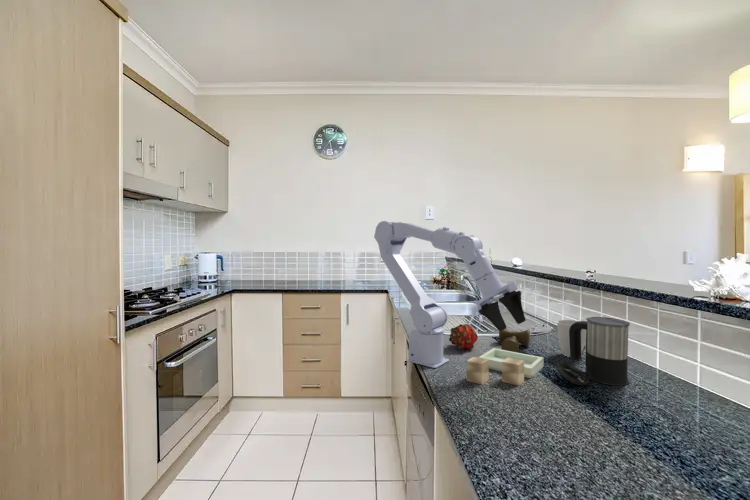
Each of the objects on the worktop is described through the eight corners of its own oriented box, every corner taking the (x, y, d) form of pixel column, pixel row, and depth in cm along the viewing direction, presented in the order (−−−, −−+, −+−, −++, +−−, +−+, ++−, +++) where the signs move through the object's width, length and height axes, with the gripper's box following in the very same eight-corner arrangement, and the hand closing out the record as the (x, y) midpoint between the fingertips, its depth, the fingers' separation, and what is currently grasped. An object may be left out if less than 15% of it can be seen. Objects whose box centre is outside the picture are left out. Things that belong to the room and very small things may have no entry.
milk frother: (632, 378, 89) (633, 320, 89) (621, 399, 77) (622, 331, 77) (569, 365, 99) (570, 312, 98) (551, 382, 87) (551, 321, 87)
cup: (592, 360, 102) (592, 326, 102) (561, 359, 104) (561, 325, 104) (581, 352, 110) (582, 320, 110) (553, 350, 112) (553, 319, 111)
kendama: (492, 355, 109) (501, 338, 127) (526, 361, 105) (531, 342, 123) (493, 336, 109) (502, 321, 127) (527, 341, 105) (531, 325, 122)
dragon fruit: (454, 358, 110) (466, 353, 120) (476, 344, 107) (487, 341, 117) (440, 333, 114) (453, 331, 124) (461, 319, 110) (473, 318, 120)
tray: (478, 366, 98) (478, 357, 98) (493, 356, 107) (493, 348, 107) (531, 378, 89) (531, 368, 89) (543, 366, 98) (543, 357, 98)
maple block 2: (502, 381, 87) (502, 361, 87) (507, 376, 90) (507, 357, 90) (518, 385, 85) (518, 365, 85) (524, 380, 88) (524, 360, 88)
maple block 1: (466, 380, 88) (466, 360, 88) (473, 376, 91) (473, 356, 91) (482, 384, 86) (482, 364, 85) (488, 379, 89) (488, 360, 88)
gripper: (513, 261, 87) (543, 312, 83) (481, 282, 99) (506, 327, 95) (492, 270, 84) (522, 323, 80) (462, 290, 96) (486, 337, 92)
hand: (512, 326), depth 87 cm, fingers open, 7 cm apart
